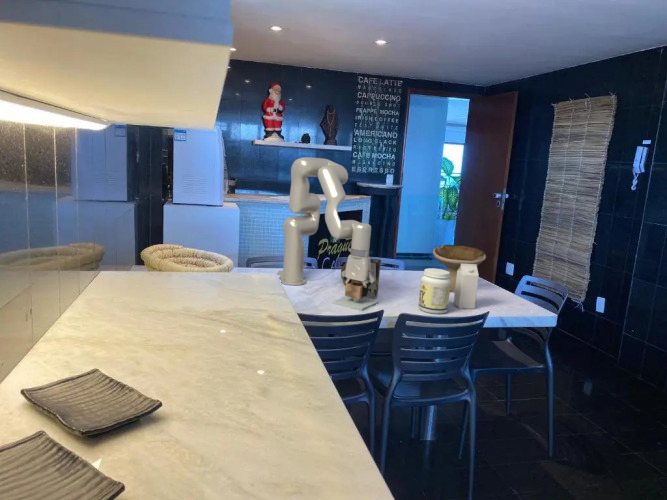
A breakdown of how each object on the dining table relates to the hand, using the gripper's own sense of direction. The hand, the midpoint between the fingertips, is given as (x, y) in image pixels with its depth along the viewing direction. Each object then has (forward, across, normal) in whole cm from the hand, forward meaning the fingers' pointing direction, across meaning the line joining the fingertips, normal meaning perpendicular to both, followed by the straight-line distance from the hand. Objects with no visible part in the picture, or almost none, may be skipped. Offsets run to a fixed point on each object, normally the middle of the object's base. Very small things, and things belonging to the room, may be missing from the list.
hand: (356, 294), depth 211 cm
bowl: (+4, +22, +60) cm, 64 cm away
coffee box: (+4, -2, +16) cm, 17 cm away
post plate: (+4, 0, 0) cm, 4 cm away
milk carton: (+4, +36, +32) cm, 48 cm away
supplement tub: (+4, +28, +16) cm, 33 cm away
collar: (+1, 0, 0) cm, 1 cm away
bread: (+5, -18, +31) cm, 36 cm away
